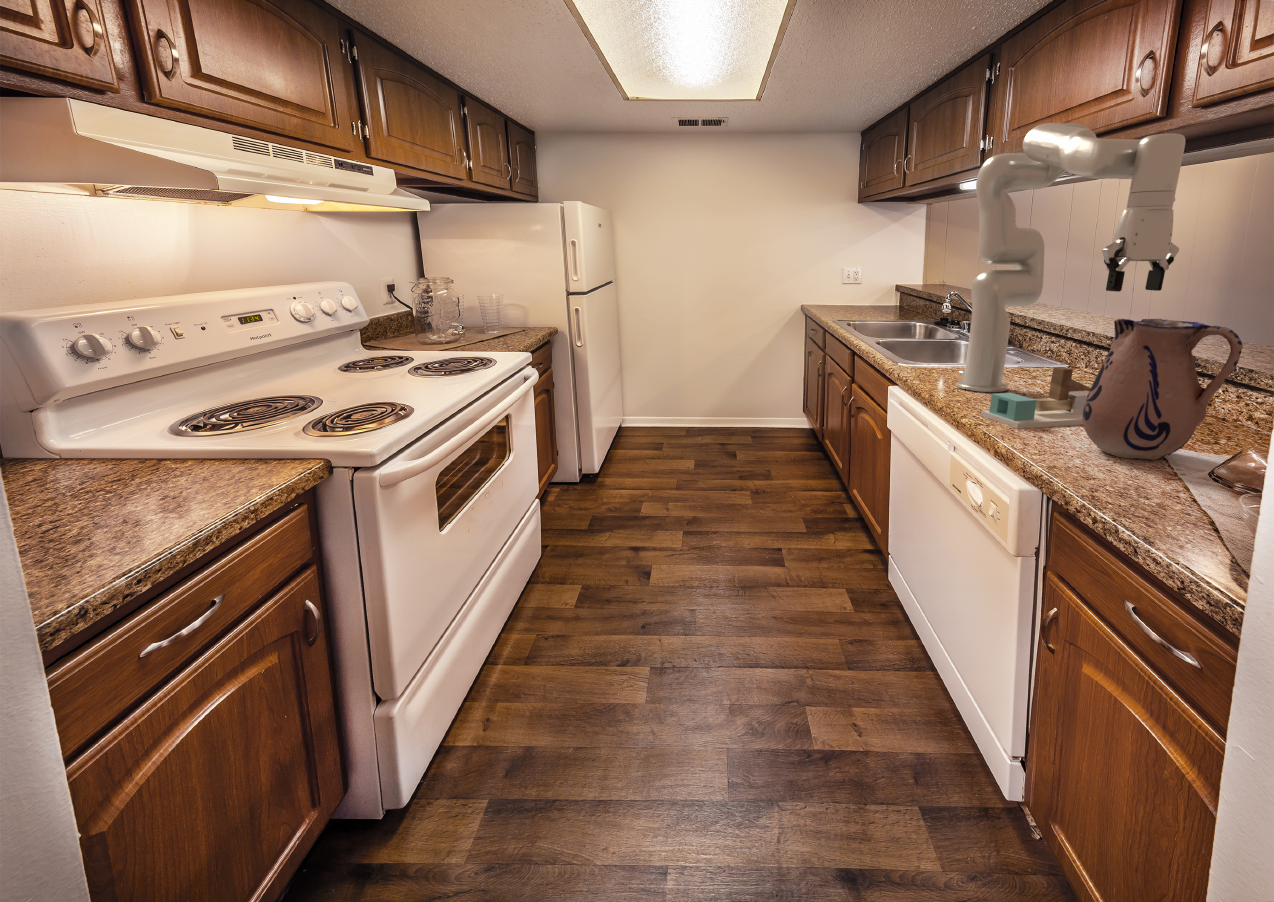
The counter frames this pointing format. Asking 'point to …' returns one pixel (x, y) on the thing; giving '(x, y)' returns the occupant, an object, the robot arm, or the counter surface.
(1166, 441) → the ceramic pitcher
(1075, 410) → the sleeve
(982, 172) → the robot arm
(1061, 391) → the tan wooden l-shaped piece
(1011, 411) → the socket block
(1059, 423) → the base board
